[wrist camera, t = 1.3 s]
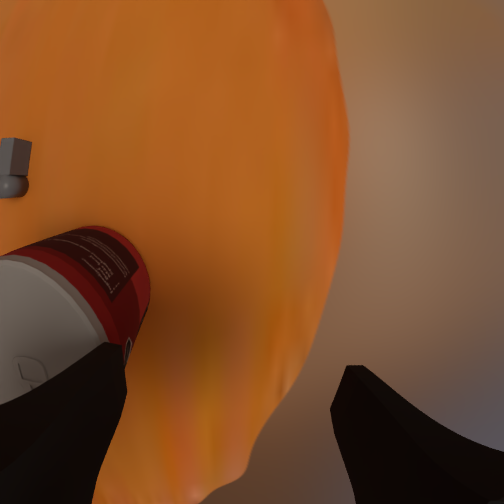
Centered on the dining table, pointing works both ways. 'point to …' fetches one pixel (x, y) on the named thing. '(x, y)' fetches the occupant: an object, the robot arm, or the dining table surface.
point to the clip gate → (14, 167)
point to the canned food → (67, 304)
